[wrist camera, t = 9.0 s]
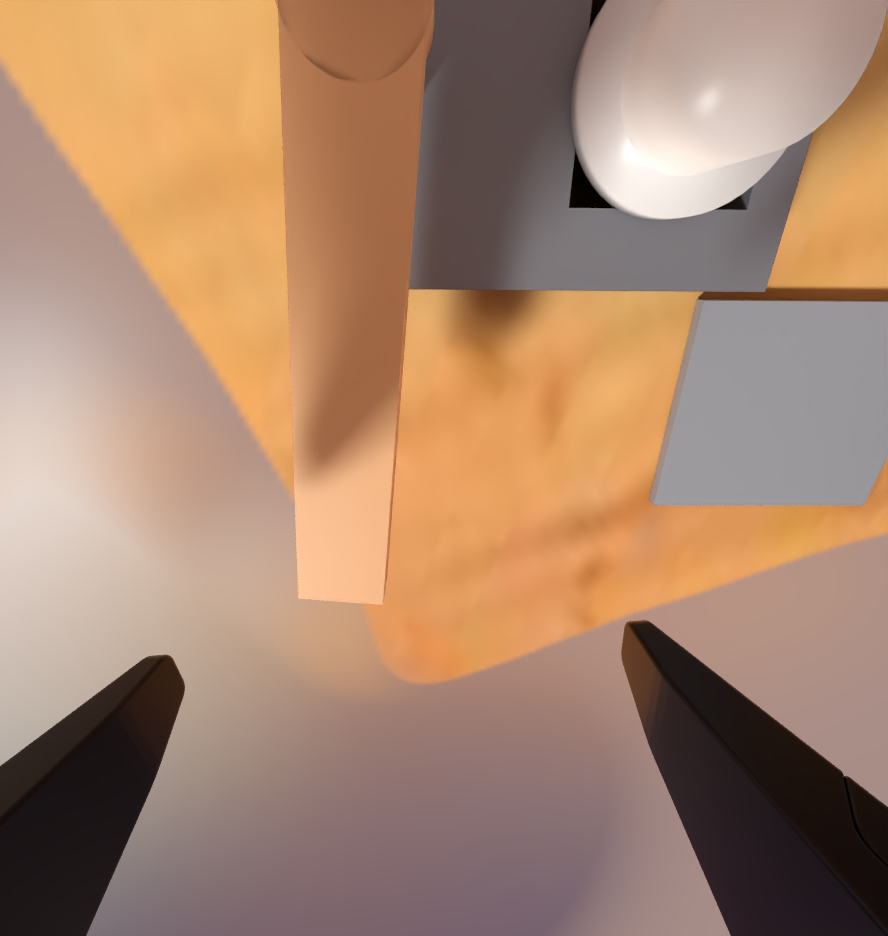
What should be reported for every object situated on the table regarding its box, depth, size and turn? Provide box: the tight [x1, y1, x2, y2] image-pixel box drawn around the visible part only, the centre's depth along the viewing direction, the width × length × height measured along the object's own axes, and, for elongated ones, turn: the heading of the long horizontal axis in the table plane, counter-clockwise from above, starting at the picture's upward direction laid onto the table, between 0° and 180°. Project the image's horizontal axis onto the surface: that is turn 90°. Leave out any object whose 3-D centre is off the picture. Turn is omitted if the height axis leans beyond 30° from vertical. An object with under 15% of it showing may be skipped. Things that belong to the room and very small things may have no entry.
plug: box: [570, 0, 888, 220], centre depth 12 cm, size 6×6×7 cm
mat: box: [649, 299, 888, 505], centre depth 19 cm, size 10×9×1 cm
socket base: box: [409, 0, 813, 292], centre depth 12 cm, size 13×10×7 cm
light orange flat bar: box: [276, 0, 434, 605], centre depth 10 cm, size 14×3×1 cm, turn 173°
